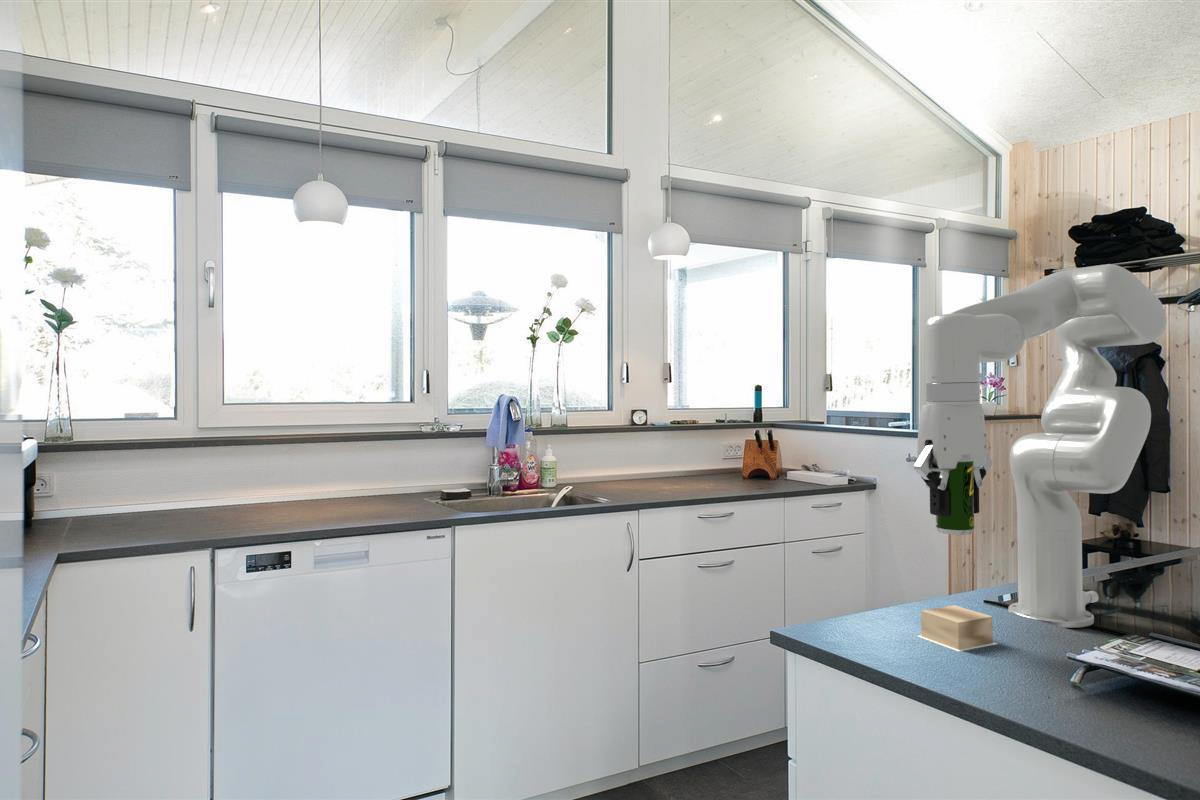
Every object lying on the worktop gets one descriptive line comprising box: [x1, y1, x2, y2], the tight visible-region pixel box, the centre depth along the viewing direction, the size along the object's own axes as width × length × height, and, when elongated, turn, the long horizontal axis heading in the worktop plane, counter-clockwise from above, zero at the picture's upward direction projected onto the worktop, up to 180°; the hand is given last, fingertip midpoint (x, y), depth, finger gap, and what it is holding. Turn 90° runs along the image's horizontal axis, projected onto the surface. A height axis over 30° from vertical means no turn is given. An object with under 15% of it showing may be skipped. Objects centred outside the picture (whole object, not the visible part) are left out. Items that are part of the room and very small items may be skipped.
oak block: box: [920, 604, 994, 650], centre depth 117 cm, size 7×7×4 cm
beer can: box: [935, 454, 975, 536], centre depth 117 cm, size 5×5×12 cm
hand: (954, 512), depth 117 cm, fingers closed on beer can, 5 cm apart
